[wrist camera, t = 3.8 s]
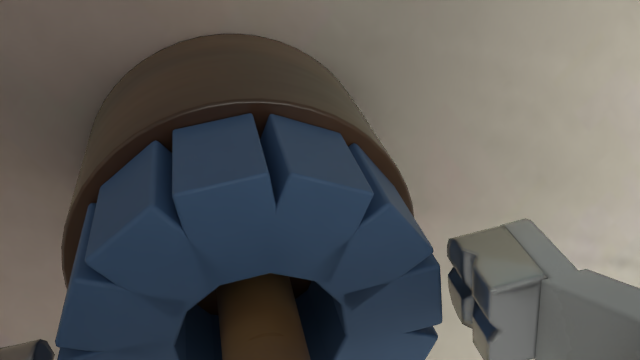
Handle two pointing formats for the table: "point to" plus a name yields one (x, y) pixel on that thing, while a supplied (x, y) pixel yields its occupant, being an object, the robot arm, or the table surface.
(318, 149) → the ring
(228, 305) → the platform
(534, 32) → the table surface
